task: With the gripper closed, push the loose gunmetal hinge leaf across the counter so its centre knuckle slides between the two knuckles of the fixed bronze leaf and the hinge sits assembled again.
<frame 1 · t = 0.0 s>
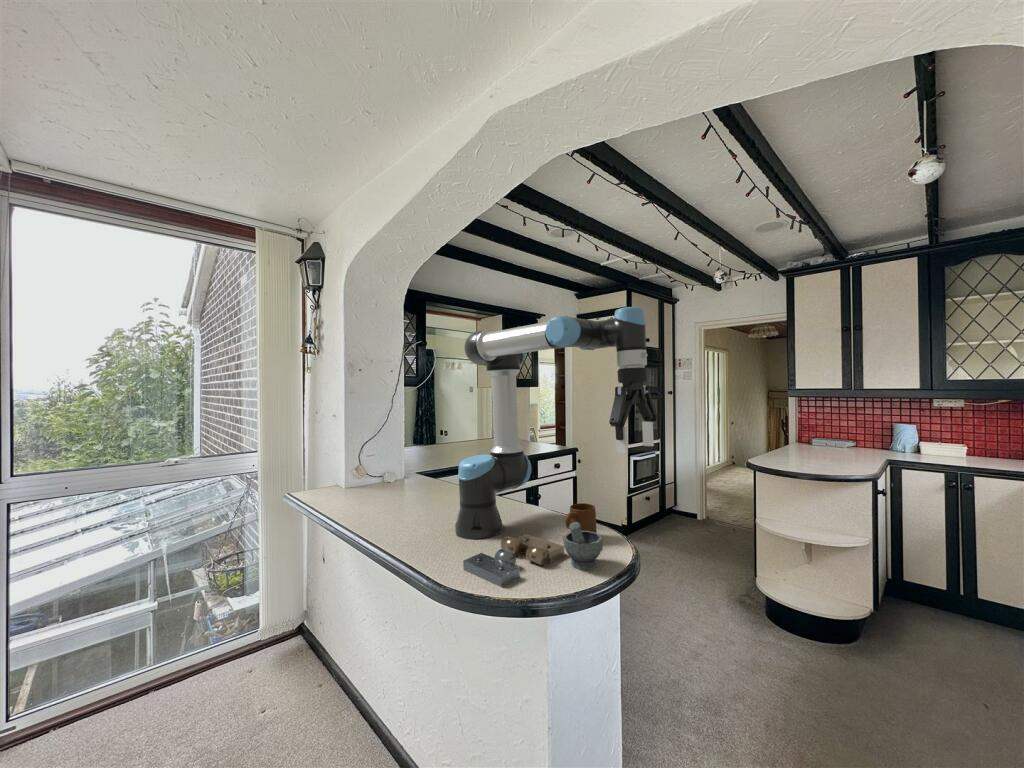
hand: (635, 449, 106), 28 cm above the countertop, fingers open, 13 cm apart
mug: (579, 541, 119), on the countertop
fixed leaf: (524, 557, 109), on the countertop
loose leaf: (505, 567, 104), on the countertop
mortar and pestle: (583, 566, 102), on the countertop
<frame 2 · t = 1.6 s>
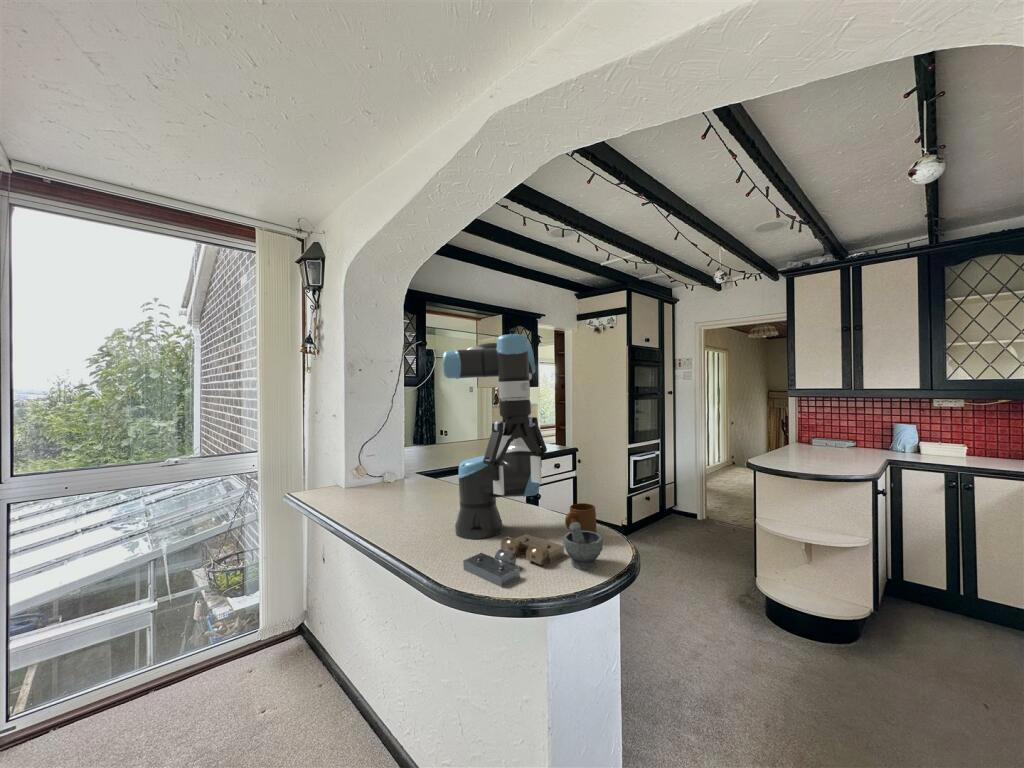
hand: (518, 488, 98), 21 cm above the countertop, fingers open, 13 cm apart
nothing on the countertop moved.
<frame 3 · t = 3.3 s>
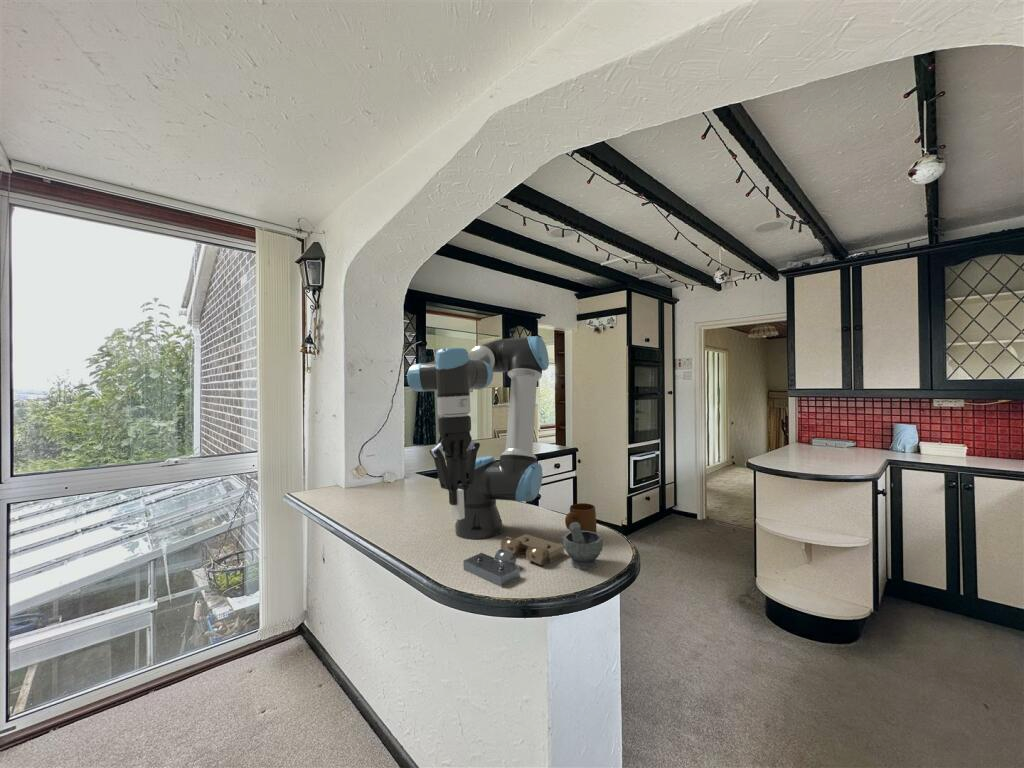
hand: (458, 517, 94), 16 cm above the countertop, fingers closed
nothing on the countertop moved.
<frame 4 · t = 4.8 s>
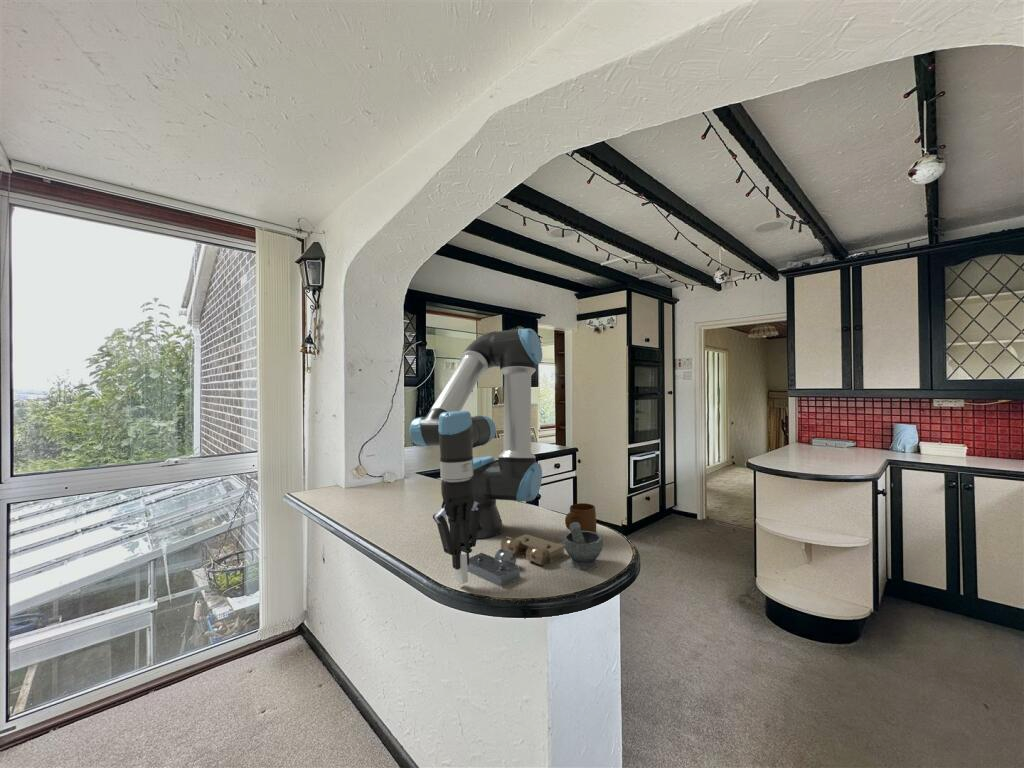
hand: (461, 580, 94), 1 cm above the countertop, fingers closed
nothing on the countertop moved.
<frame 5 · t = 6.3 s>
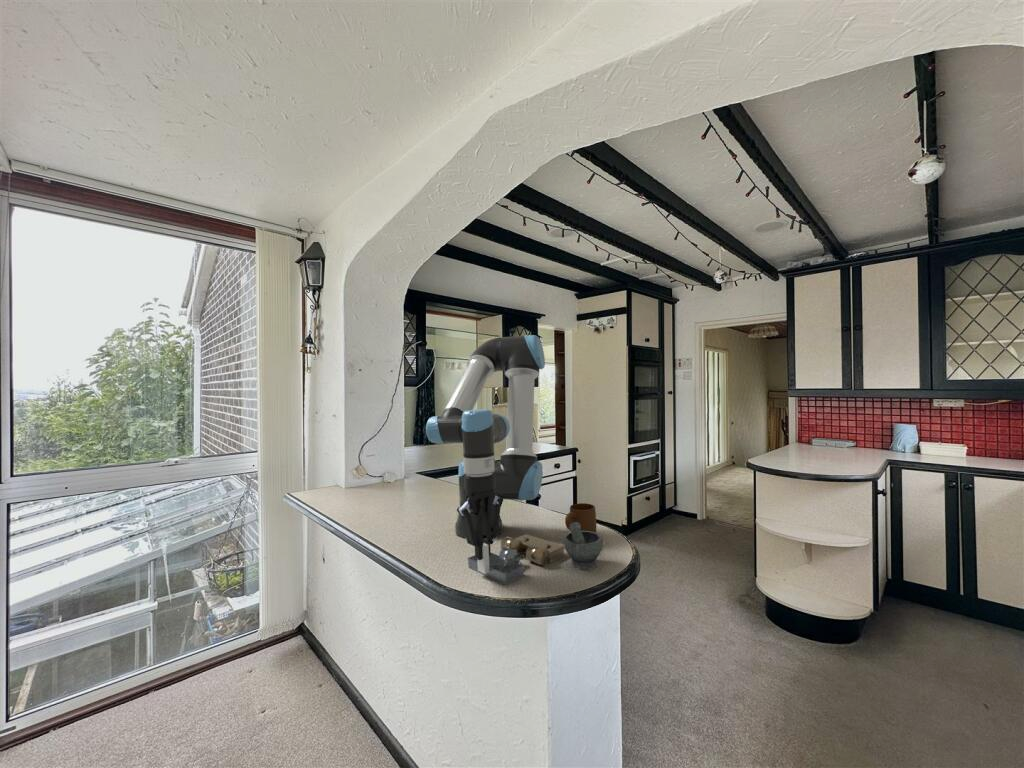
hand: (483, 571, 99), 1 cm above the countertop, fingers closed
loose leaf: (510, 564, 105), on the countertop, touching gripper
everything else where it was.
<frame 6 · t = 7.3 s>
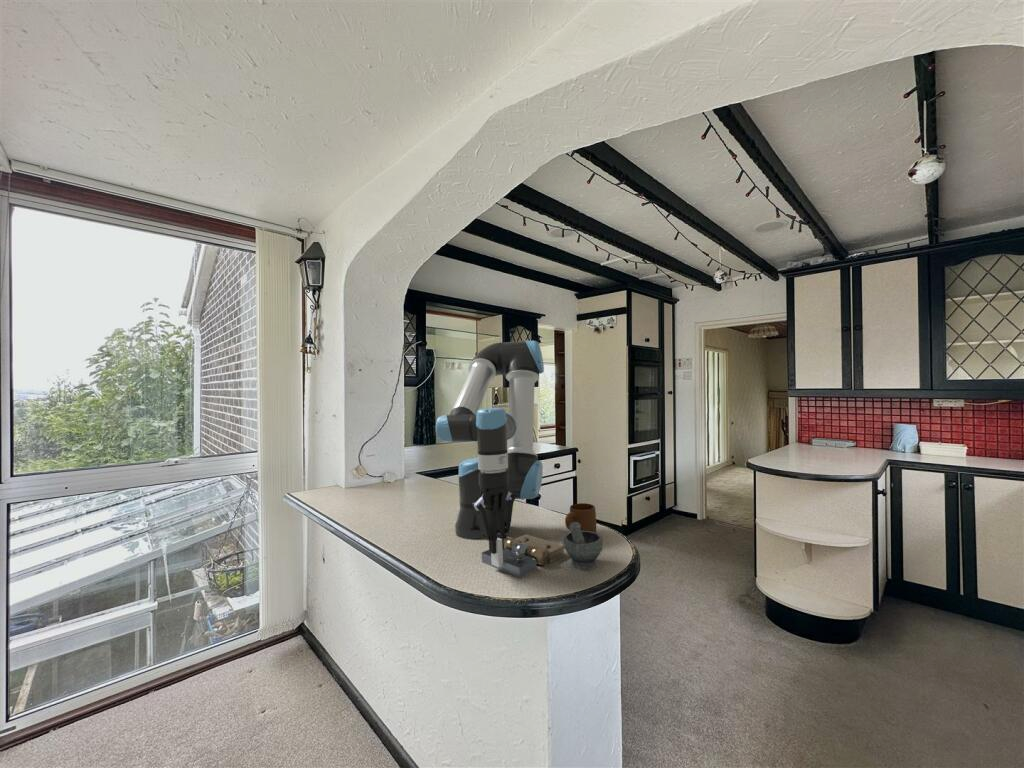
hand: (497, 564, 102), 1 cm above the countertop, fingers closed
loose leaf: (522, 559, 108), on the countertop, touching gripper
everything else where it was.
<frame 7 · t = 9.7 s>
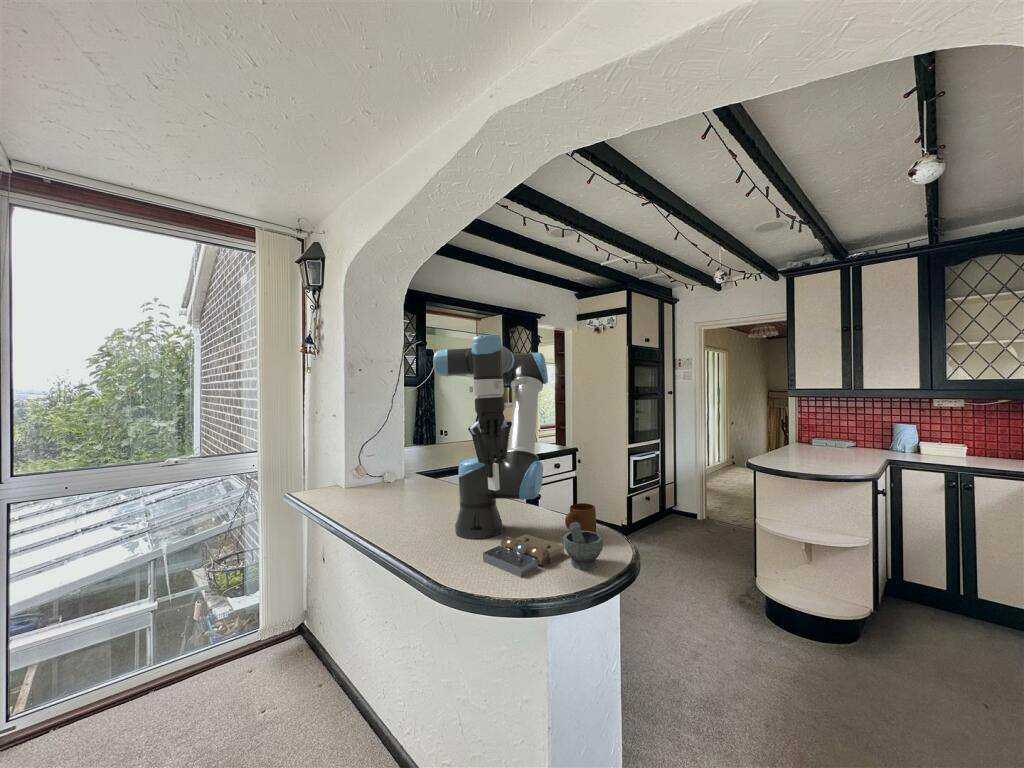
hand: (493, 489, 104), 20 cm above the countertop, fingers closed
loose leaf: (523, 559, 108), on the countertop
everything else where it was.
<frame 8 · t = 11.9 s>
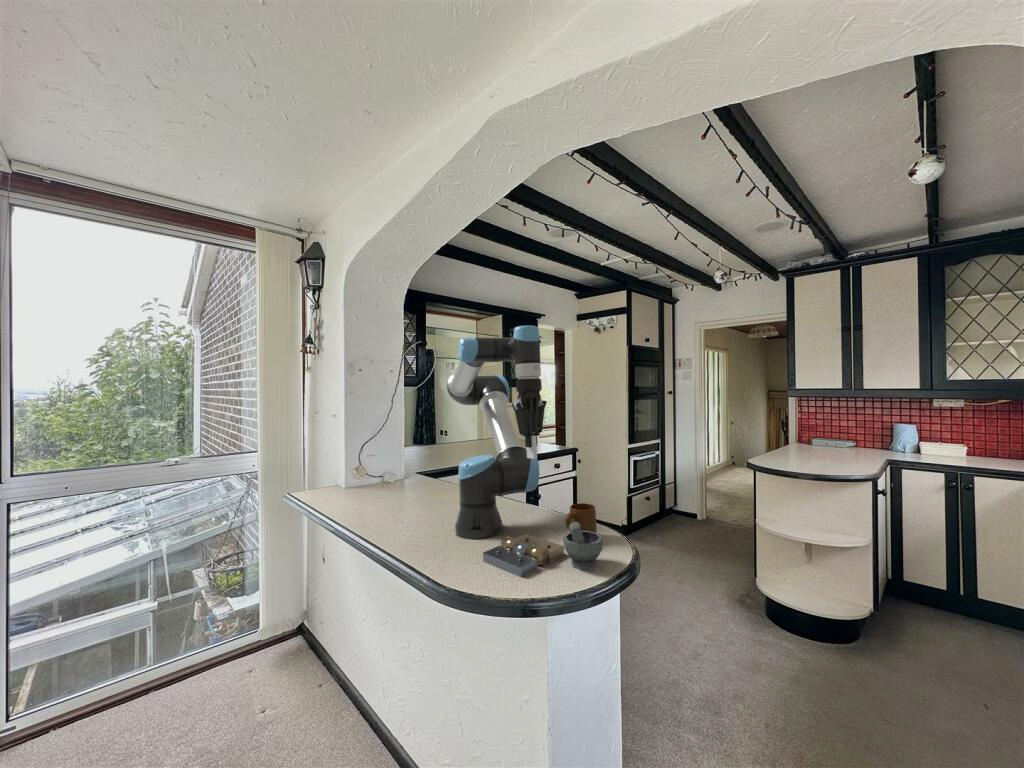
hand: (532, 457, 121), 24 cm above the countertop, fingers closed
nothing on the countertop moved.
at the end: loose leaf 0.6 cm from the target spot, on the countertop; loose leaf tilted 1° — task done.
